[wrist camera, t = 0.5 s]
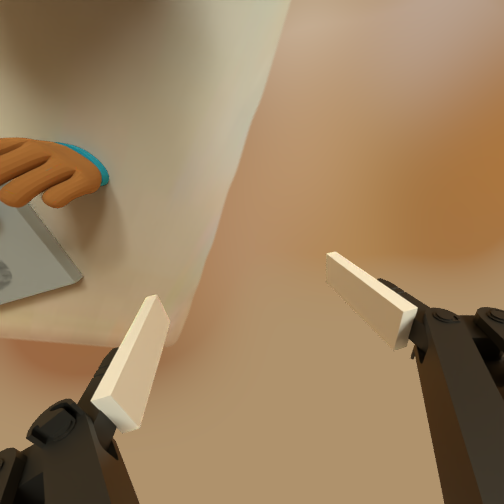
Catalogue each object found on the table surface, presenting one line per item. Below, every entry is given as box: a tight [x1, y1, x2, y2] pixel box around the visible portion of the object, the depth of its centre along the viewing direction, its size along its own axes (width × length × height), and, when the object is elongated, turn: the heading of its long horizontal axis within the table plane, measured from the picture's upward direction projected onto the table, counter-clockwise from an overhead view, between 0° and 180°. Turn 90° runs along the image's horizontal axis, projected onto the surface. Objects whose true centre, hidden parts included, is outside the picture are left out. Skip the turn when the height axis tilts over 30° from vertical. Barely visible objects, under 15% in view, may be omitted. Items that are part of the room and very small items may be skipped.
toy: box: [0, 138, 109, 208], centre depth 24 cm, size 12×7×15 cm, turn 50°
